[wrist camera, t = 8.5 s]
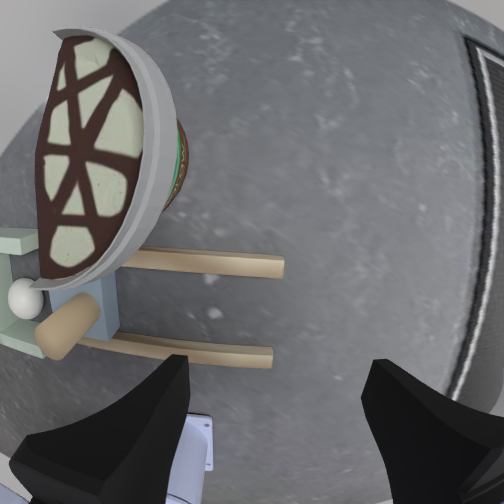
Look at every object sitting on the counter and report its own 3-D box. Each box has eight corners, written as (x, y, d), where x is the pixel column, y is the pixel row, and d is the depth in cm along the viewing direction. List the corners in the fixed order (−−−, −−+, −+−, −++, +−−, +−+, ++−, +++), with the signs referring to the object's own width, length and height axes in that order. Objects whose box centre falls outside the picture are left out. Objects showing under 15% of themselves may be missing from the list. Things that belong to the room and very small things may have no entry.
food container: (197, 257, 20) (153, 328, 10) (115, 246, 20) (29, 300, 10) (218, 77, 17) (192, -3, 7) (133, 76, 17) (56, 19, 7)
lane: (270, 359, 22) (271, 368, 21) (65, 332, 22) (58, 338, 20) (282, 255, 20) (284, 260, 19) (51, 239, 20) (43, 242, 18)
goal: (62, 339, 22) (43, 358, 18) (15, 326, 22) (-4, 341, 18) (46, 229, 19) (20, 238, 16) (-1, 227, 19) (-27, 235, 16)
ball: (45, 297, 22) (54, 314, 20) (17, 314, 20) (22, 334, 18) (30, 265, 20) (36, 279, 18) (0, 283, 18) (2, 300, 16)
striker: (120, 326, 21) (78, 382, 14) (70, 317, 21) (21, 363, 14) (114, 266, 20) (60, 308, 13) (62, 261, 20) (2, 295, 13)
